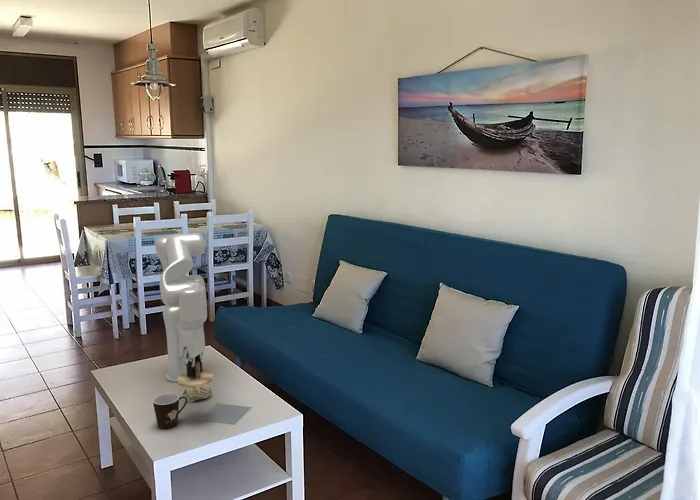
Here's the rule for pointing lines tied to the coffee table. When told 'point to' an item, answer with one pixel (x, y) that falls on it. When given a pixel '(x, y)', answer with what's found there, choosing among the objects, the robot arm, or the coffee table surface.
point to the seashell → (197, 393)
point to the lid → (198, 380)
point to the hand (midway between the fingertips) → (194, 374)
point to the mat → (225, 413)
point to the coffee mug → (167, 410)
